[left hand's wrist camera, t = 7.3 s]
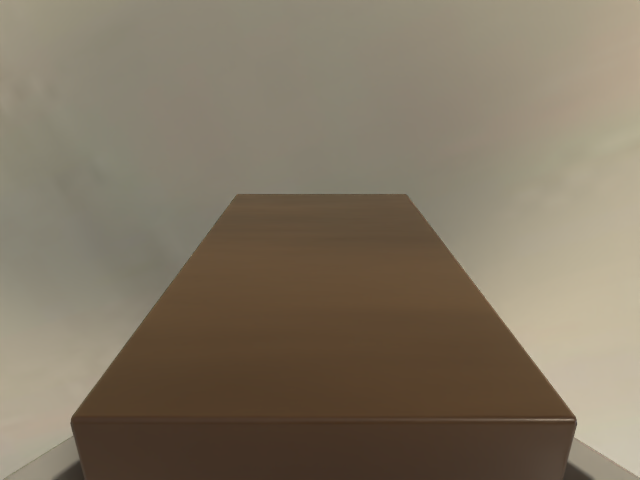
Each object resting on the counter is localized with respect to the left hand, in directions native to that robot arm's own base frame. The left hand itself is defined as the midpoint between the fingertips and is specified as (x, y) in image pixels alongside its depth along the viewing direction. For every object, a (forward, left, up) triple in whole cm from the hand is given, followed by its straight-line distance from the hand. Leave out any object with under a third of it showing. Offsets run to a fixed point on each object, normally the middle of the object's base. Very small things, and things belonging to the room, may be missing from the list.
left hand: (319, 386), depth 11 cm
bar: (+8, 0, -4) cm, 9 cm away
